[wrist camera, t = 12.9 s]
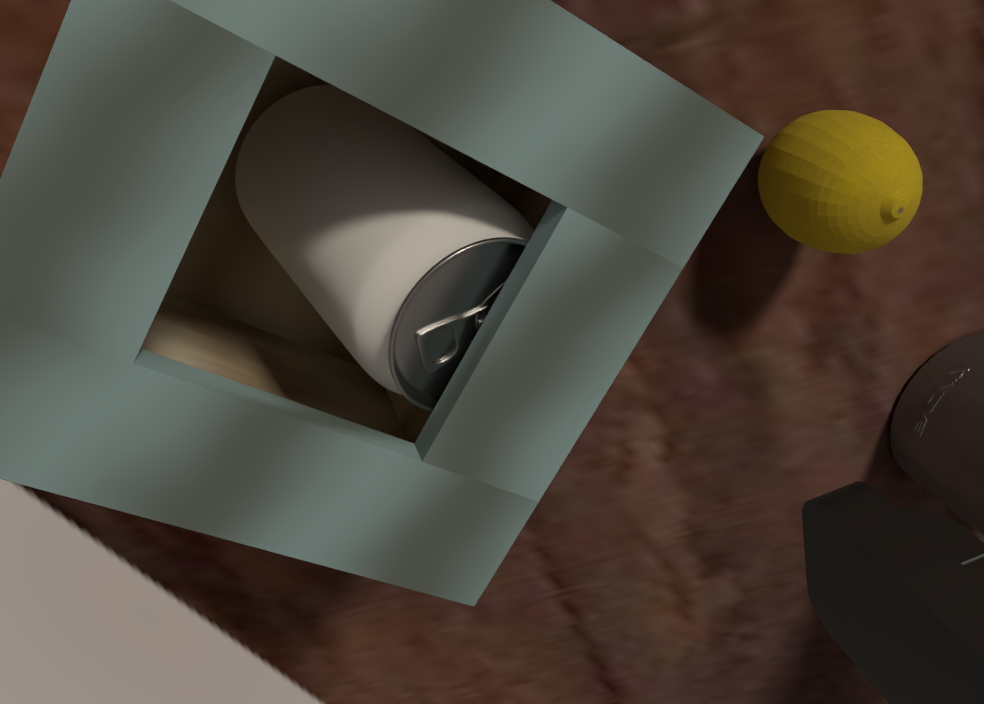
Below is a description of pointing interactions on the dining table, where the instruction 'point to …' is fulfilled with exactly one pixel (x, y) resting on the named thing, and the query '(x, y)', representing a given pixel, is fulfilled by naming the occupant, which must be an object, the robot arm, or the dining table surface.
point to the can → (379, 234)
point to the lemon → (840, 181)
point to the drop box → (284, 308)
